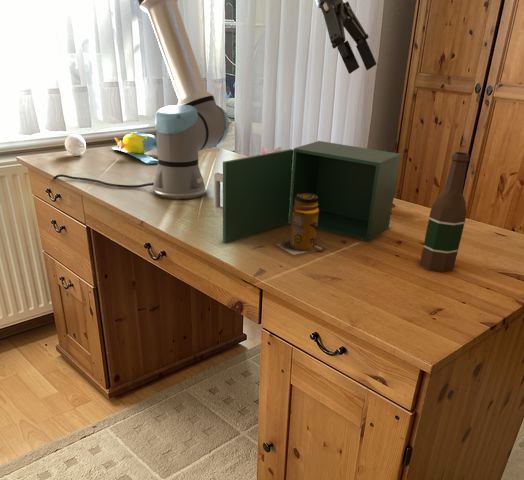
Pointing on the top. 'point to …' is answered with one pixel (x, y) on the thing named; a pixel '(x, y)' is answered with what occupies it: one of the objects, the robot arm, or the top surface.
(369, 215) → the green open cabinet
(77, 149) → the white egg
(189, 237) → the top surface
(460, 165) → the beer bottle
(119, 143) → the yellow and blue toy
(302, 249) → the condiment
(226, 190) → the green cabinet door
